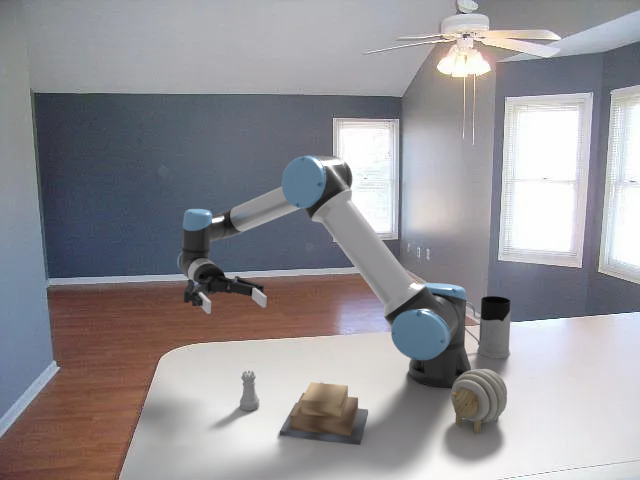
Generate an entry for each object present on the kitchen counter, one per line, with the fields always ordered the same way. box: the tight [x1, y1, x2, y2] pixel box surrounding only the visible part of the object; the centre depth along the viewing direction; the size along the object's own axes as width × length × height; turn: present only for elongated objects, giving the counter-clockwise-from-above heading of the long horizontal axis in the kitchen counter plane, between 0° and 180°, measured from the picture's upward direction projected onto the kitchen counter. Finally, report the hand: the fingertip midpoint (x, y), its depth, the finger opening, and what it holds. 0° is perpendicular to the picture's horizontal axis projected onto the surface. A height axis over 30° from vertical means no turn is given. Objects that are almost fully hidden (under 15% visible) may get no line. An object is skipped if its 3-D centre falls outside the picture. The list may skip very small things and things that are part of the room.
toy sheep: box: [450, 368, 508, 434], centre depth 105 cm, size 11×17×11 cm, turn 138°
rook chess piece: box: [239, 370, 260, 412], centre depth 112 cm, size 4×4×8 cm
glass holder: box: [465, 295, 512, 359], centre depth 142 cm, size 9×14×15 cm, turn 71°
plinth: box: [279, 382, 369, 445], centre depth 105 cm, size 16×12×7 cm
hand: (238, 305), depth 117 cm, fingers open, 13 cm apart
